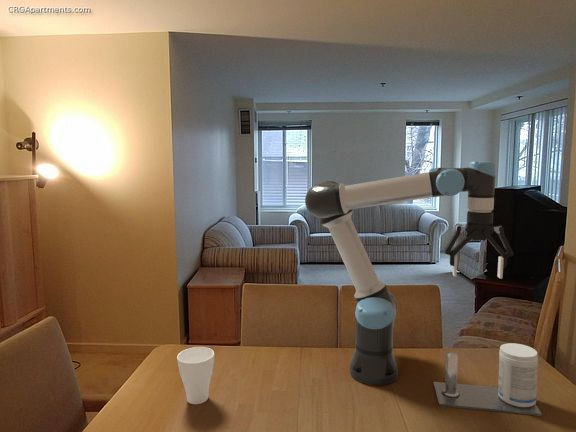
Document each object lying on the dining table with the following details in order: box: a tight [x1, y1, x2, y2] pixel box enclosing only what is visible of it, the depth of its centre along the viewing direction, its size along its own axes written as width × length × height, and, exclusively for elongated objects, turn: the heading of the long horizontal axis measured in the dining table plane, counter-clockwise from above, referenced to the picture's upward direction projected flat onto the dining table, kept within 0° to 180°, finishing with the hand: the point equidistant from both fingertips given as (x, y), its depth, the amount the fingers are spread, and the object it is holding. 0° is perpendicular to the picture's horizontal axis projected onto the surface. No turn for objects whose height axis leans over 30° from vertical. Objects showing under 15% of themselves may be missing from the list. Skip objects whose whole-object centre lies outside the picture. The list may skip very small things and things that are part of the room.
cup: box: [176, 346, 215, 405], centre depth 122 cm, size 10×10×14 cm
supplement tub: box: [497, 342, 539, 407], centre depth 119 cm, size 10×10×15 cm
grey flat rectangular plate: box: [433, 381, 543, 417], centre depth 121 cm, size 26×12×1 cm, turn 78°
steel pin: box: [443, 351, 459, 398], centre depth 122 cm, size 4×4×12 cm
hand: (476, 276), depth 135 cm, fingers open, 13 cm apart
